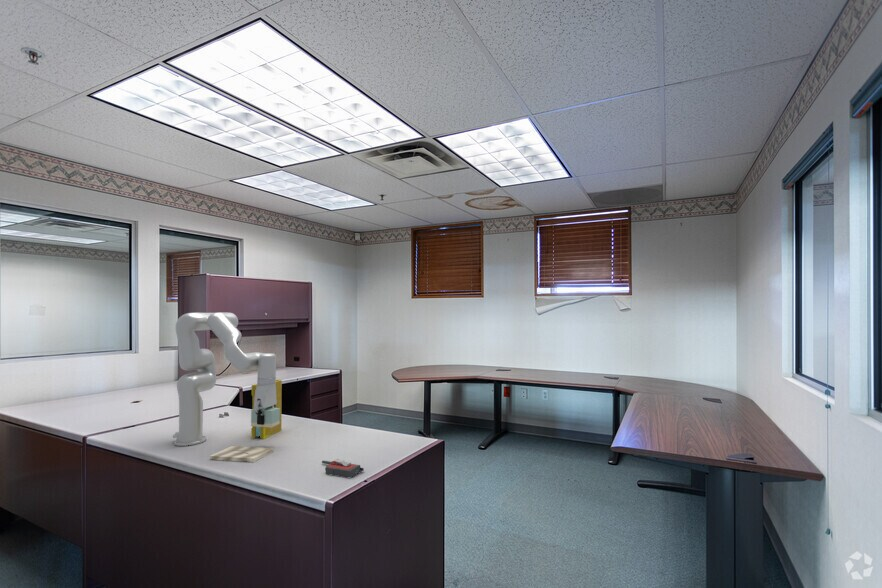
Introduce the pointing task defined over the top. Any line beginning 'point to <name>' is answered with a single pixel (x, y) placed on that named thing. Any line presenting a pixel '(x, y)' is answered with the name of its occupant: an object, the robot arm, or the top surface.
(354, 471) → the walkie-talkie
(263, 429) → the book
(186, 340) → the robot arm
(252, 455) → the board
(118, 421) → the top surface
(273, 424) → the block
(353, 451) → the top surface
